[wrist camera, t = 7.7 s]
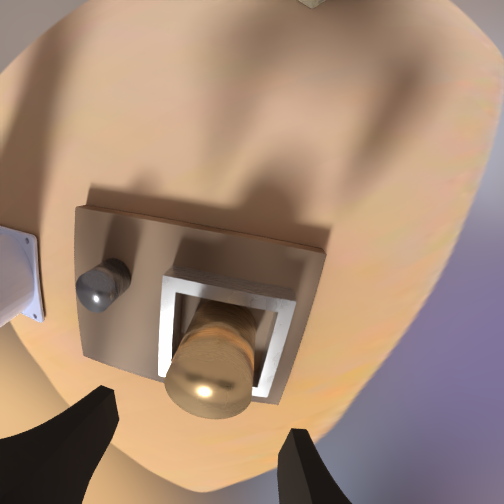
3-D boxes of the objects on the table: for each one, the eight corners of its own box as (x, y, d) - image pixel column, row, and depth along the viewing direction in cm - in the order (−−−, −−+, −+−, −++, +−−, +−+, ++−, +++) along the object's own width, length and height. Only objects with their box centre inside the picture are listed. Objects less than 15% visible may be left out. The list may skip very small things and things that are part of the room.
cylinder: (191, 347, 18) (166, 410, 12) (194, 293, 17) (162, 348, 11) (251, 356, 18) (246, 424, 12) (260, 303, 17) (257, 364, 11)
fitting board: (90, 348, 20) (65, 376, 16) (85, 204, 17) (47, 214, 13) (277, 394, 20) (279, 433, 16) (322, 249, 17) (339, 271, 13)
